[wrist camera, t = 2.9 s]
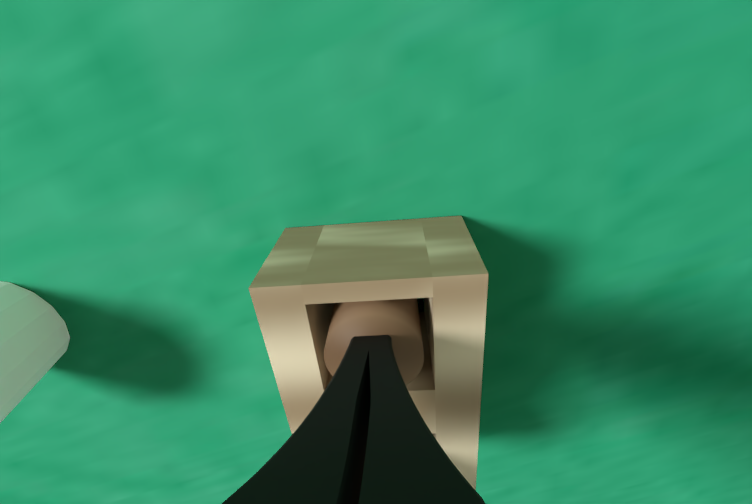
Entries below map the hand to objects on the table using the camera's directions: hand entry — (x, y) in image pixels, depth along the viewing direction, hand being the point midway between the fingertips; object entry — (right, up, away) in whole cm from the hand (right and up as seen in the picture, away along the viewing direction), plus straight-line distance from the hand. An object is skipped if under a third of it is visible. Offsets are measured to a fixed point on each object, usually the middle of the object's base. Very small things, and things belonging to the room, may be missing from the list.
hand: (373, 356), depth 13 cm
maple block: (0, -1, +6) cm, 6 cm away
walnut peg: (0, +2, +4) cm, 5 cm away
